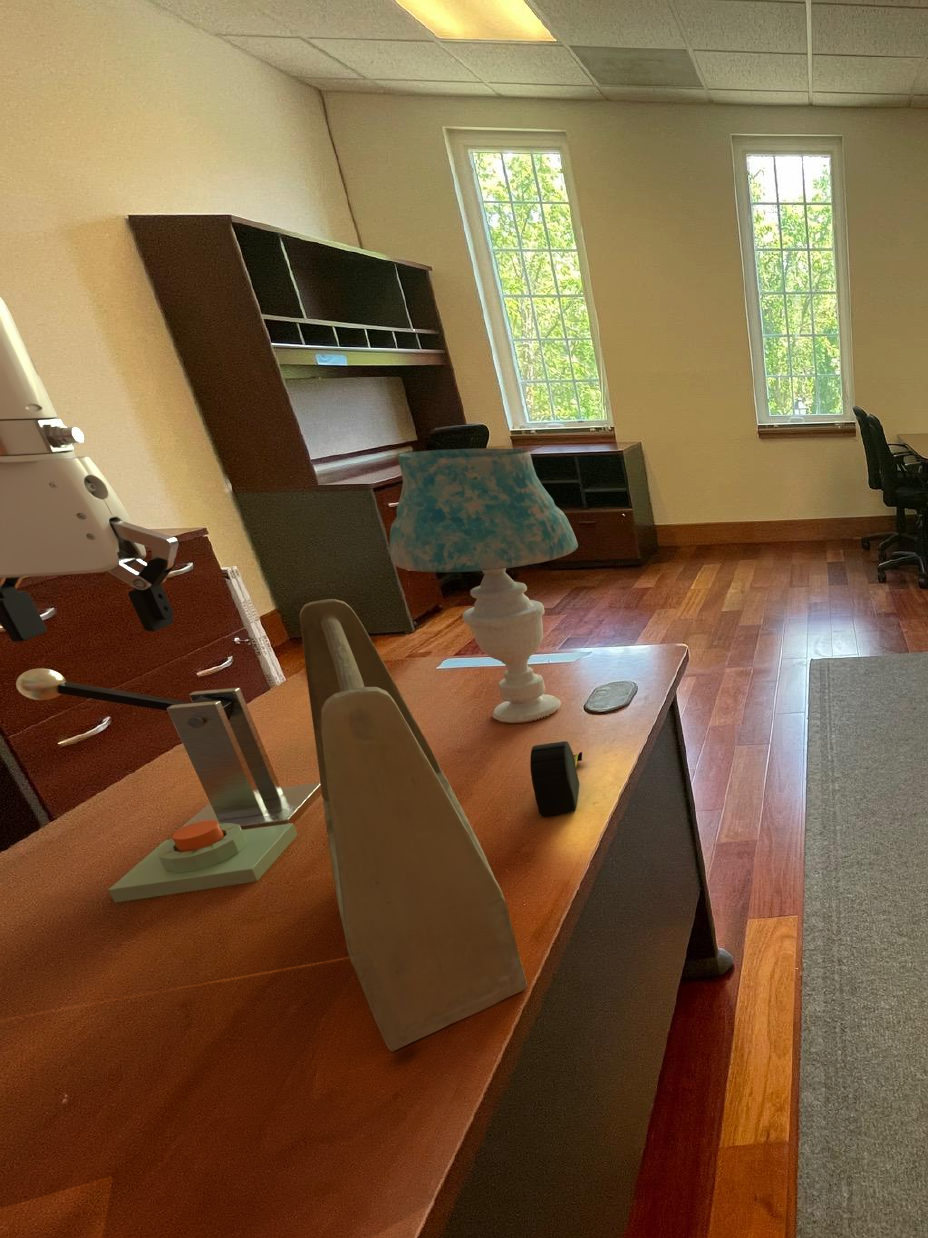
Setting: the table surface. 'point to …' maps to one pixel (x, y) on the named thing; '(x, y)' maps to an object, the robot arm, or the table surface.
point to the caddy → (400, 846)
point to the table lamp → (486, 552)
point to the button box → (205, 863)
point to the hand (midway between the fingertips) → (97, 632)
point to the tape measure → (555, 778)
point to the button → (197, 835)
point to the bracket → (235, 765)
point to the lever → (93, 691)
